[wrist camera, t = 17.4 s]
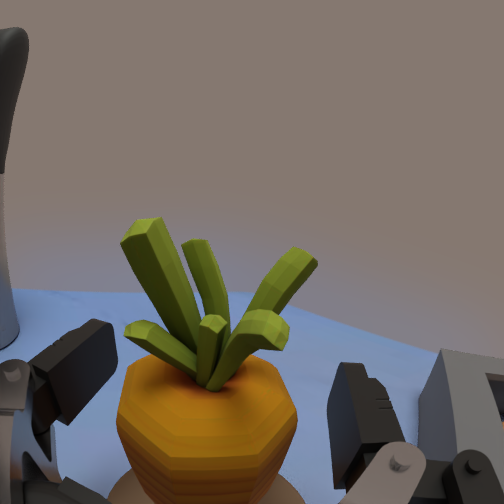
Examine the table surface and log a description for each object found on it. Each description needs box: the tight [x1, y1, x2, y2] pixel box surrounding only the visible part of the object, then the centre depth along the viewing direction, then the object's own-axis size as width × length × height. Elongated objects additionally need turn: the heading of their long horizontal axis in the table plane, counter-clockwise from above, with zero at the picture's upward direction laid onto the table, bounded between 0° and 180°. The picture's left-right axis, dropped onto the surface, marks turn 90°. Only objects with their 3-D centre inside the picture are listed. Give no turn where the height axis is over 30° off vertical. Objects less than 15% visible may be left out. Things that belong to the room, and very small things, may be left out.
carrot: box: [116, 217, 318, 504], centre depth 7 cm, size 5×5×15 cm
